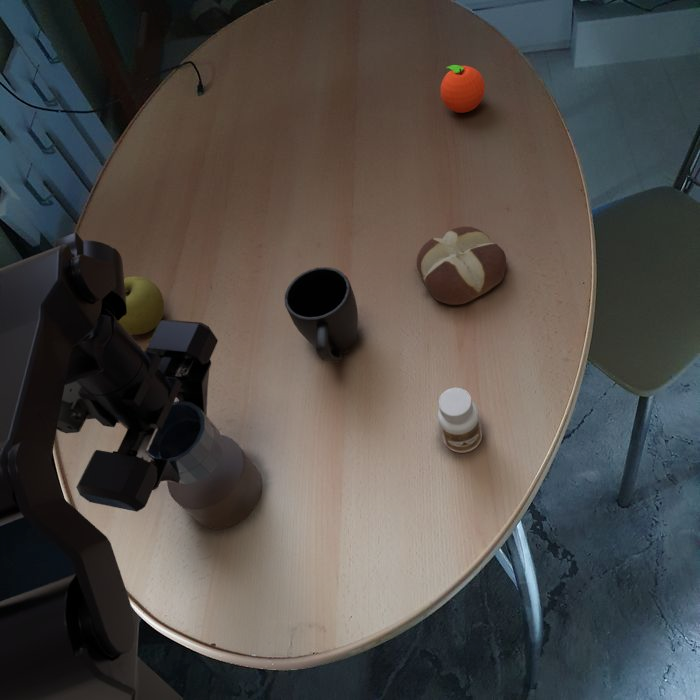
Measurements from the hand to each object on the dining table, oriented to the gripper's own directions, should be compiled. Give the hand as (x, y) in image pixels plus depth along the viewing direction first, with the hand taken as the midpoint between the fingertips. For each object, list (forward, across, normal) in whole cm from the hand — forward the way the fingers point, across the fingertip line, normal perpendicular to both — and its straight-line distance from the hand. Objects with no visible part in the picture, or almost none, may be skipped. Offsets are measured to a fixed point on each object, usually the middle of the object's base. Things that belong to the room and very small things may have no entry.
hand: (189, 448), depth 69 cm
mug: (+12, -21, +7) cm, 25 cm away
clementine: (+12, -70, +15) cm, 73 cm away
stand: (+12, 0, -1) cm, 12 cm away
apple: (+12, -23, -23) cm, 34 cm away
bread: (+12, -35, +21) cm, 43 cm away
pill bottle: (+12, -11, +25) cm, 30 cm away
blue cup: (+2, 0, 0) cm, 2 cm away
